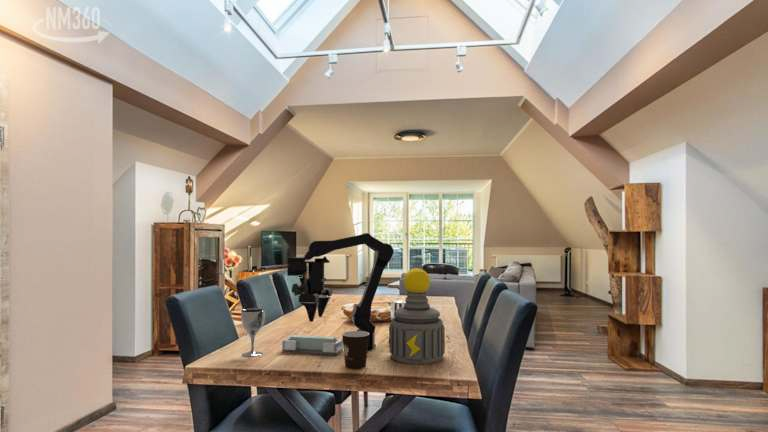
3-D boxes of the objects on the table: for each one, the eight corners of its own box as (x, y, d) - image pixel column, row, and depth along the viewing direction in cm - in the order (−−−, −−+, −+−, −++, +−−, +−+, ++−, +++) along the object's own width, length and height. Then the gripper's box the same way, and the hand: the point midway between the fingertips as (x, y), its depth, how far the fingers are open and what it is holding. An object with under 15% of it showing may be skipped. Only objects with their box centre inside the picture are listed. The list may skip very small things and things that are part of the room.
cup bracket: (342, 350, 151) (342, 339, 151) (336, 355, 144) (336, 343, 144) (290, 347, 155) (290, 336, 155) (282, 352, 148) (282, 340, 148)
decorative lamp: (443, 367, 132) (443, 270, 133) (384, 363, 135) (384, 269, 137) (445, 351, 150) (445, 266, 152) (393, 348, 154) (393, 266, 155)
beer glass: (408, 341, 164) (408, 303, 165) (390, 341, 164) (390, 302, 165) (407, 337, 171) (407, 300, 171) (390, 337, 171) (390, 300, 172)
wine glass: (269, 352, 147) (269, 309, 148) (253, 358, 140) (254, 312, 141) (251, 349, 151) (252, 307, 152) (235, 355, 144) (236, 311, 144)
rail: (335, 348, 149) (335, 337, 149) (332, 350, 146) (332, 339, 147) (293, 346, 153) (293, 334, 153) (289, 348, 150) (290, 336, 150)
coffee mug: (370, 369, 129) (371, 336, 129) (342, 370, 127) (343, 337, 128) (366, 359, 140) (366, 328, 141) (340, 360, 139) (340, 329, 139)
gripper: (304, 273, 163) (304, 313, 162) (284, 277, 145) (283, 323, 144) (332, 273, 161) (332, 314, 160) (315, 278, 143) (314, 324, 142)
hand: (315, 319), depth 151 cm, fingers open, 9 cm apart
